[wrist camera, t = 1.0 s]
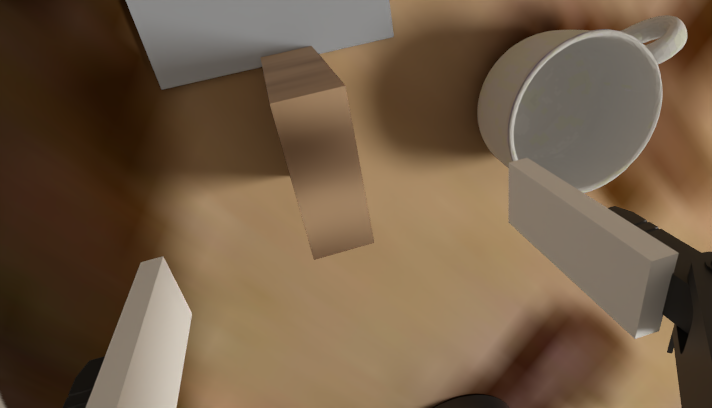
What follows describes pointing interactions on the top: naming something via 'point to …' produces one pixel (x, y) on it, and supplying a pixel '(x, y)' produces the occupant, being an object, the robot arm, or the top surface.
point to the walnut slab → (319, 149)
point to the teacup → (578, 99)
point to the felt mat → (248, 32)
